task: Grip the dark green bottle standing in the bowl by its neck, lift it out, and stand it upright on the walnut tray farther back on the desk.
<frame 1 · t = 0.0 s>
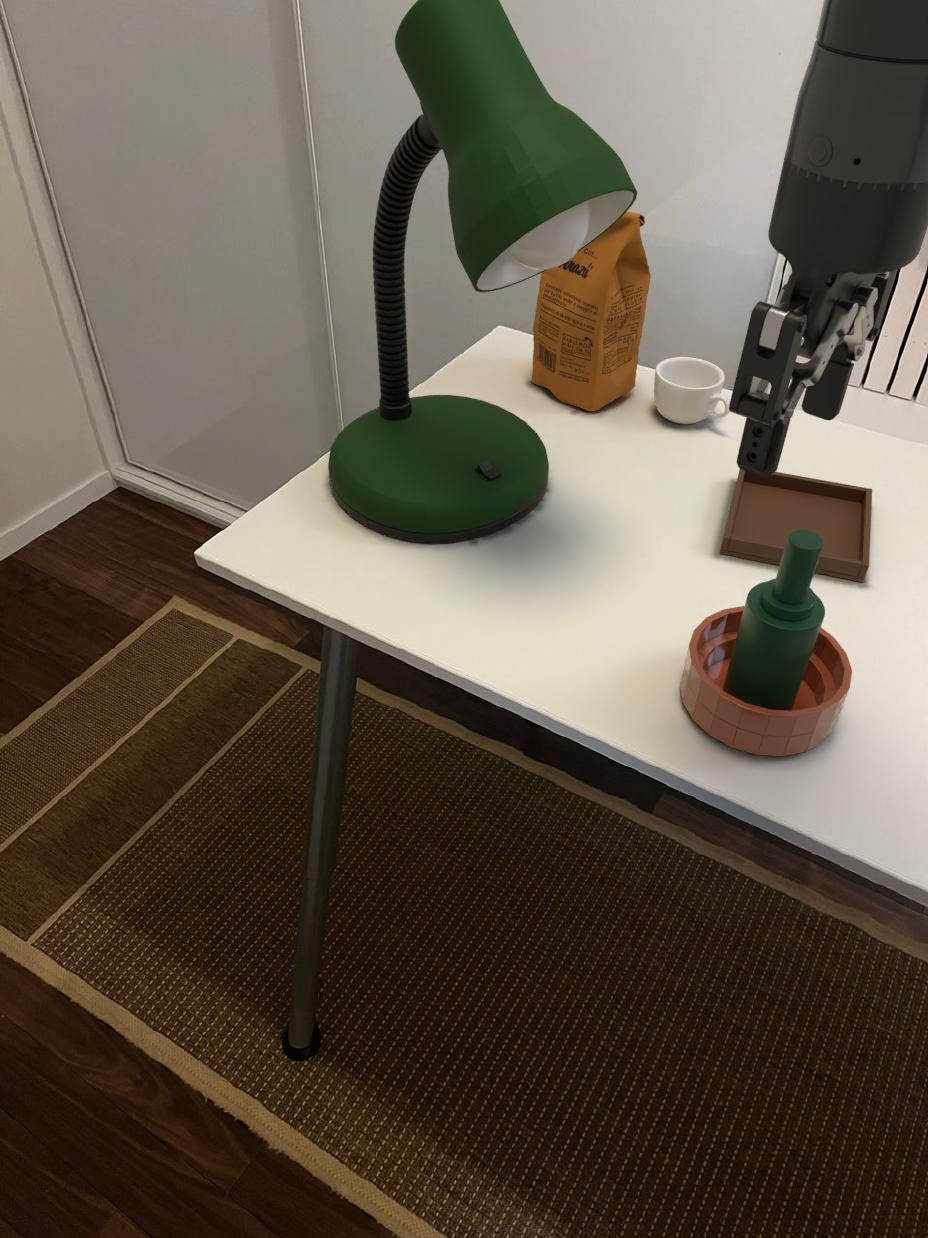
hand: (788, 441, 57), 26 cm above the table, tool pointing down, fingers open, 8 cm apart
bottle: (757, 697, 76), resting on bowl
coffee package: (580, 388, 115), on the table
desk lamp: (463, 496, 98), on the table
teacup: (689, 419, 110), on the table
bowl: (756, 701, 76), on the table
tray: (795, 528, 94), on the table
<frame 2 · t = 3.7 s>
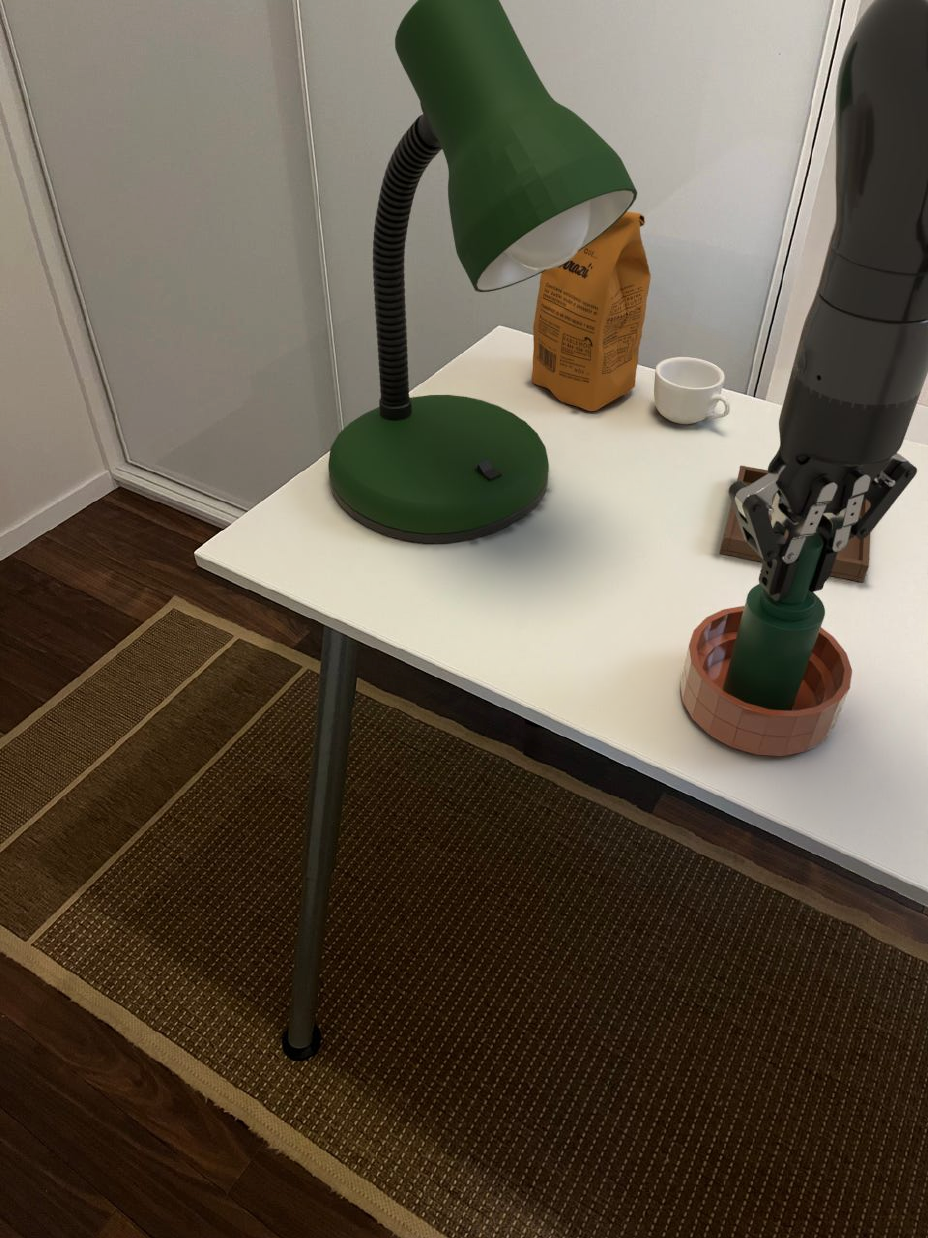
hand: (791, 587, 68), 12 cm above the table, tool pointing down, fingers closed on bottle, 2 cm apart
bottle: (757, 697, 76), point 1 cm above the table, touching gripper
everything else where it was.
when the fingers open (12 cm above the table, at t = 10.7 s): bottle stays where it is, resting on tray.
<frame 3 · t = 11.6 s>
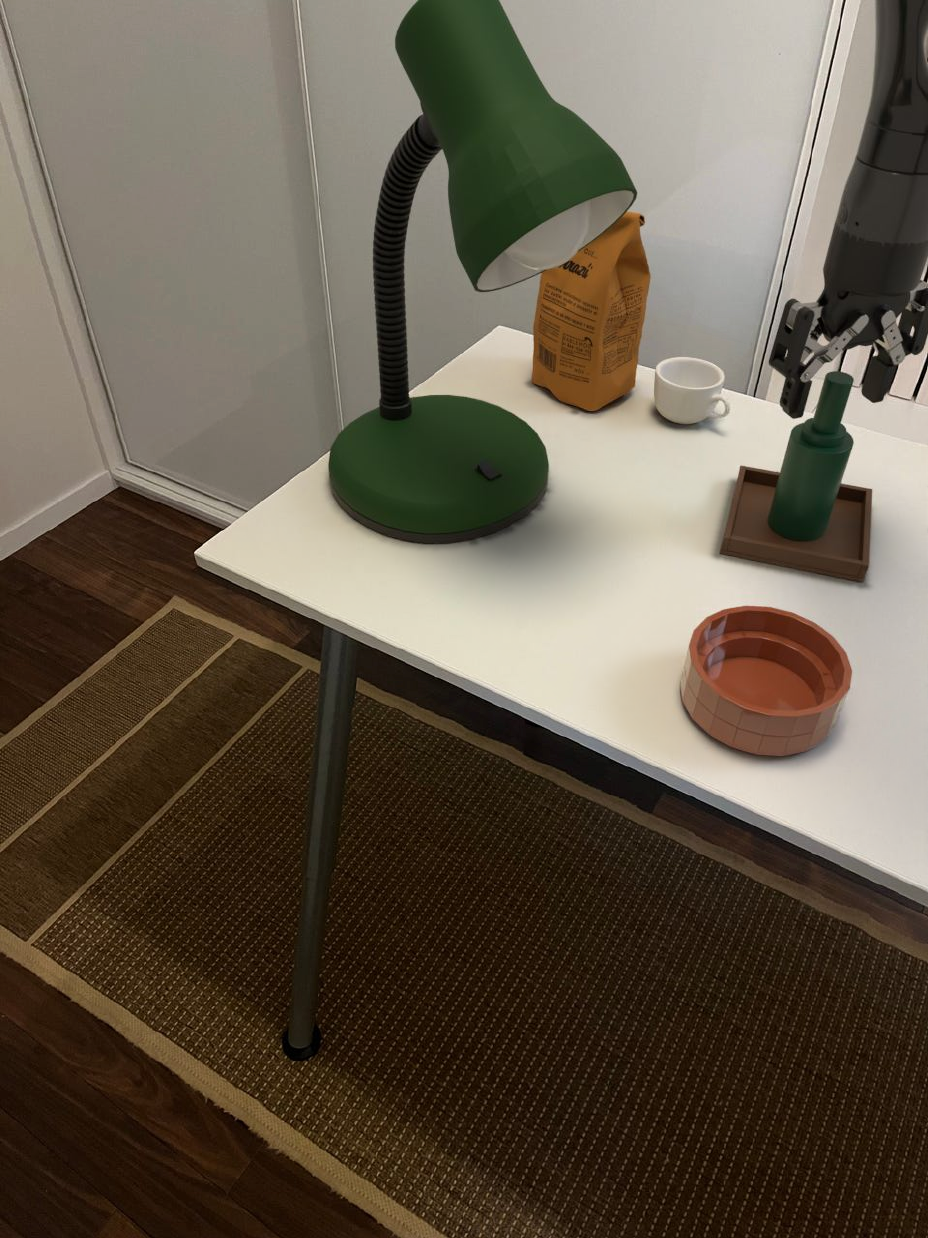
hand: (831, 406, 85), 14 cm above the table, tool pointing down, fingers open, 8 cm apart
bottle: (796, 524, 93), resting on tray
everything else where it was.
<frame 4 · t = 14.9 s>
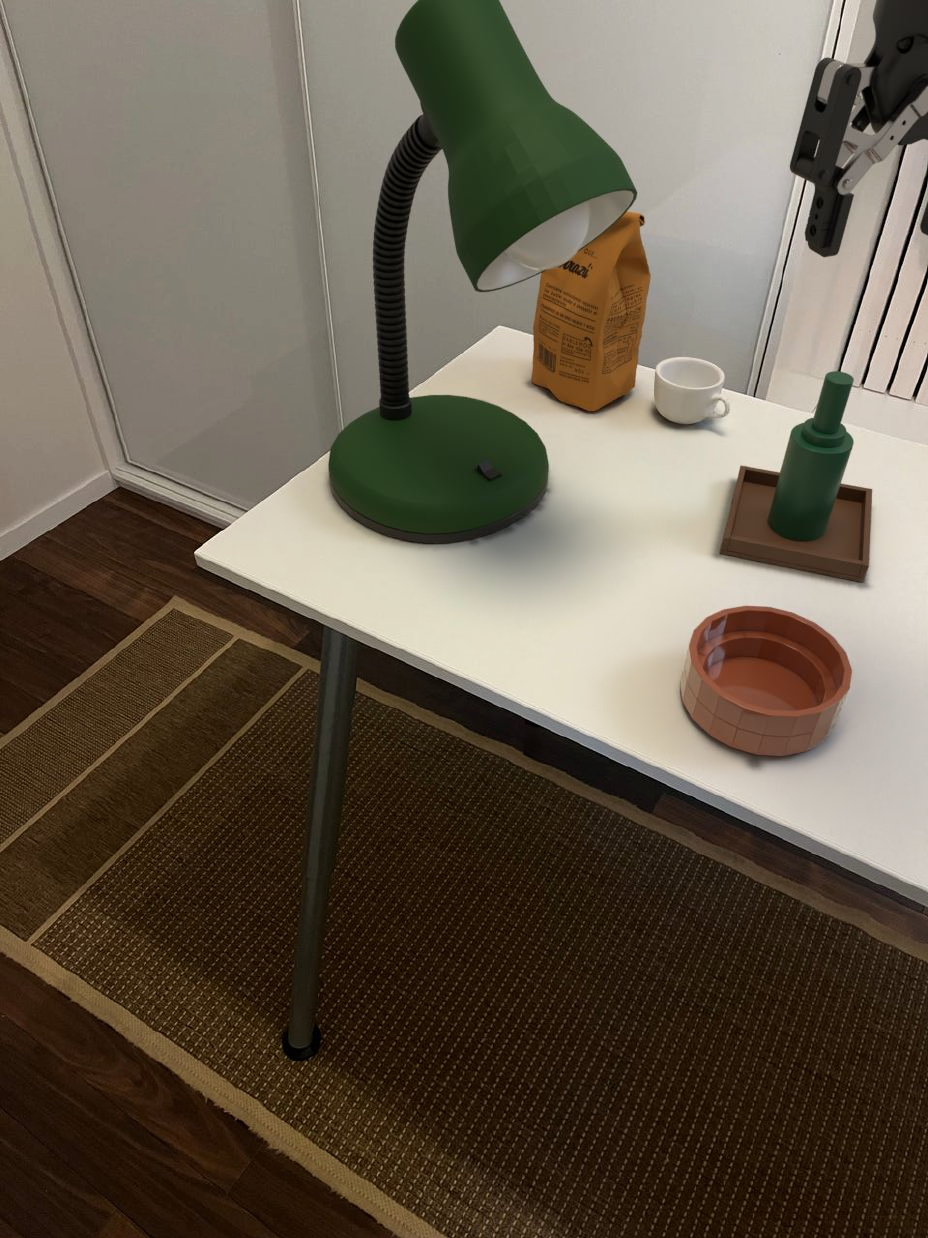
hand: (879, 243, 59), 34 cm above the table, tool pointing down, fingers open, 8 cm apart
nothing on the table moved.
at the end: bottle inside the target area in the tray (0.1 cm from its centre), point 0.5 cm above the tray's base; bottle tilted 0°; the gripper is holding nothing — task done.
